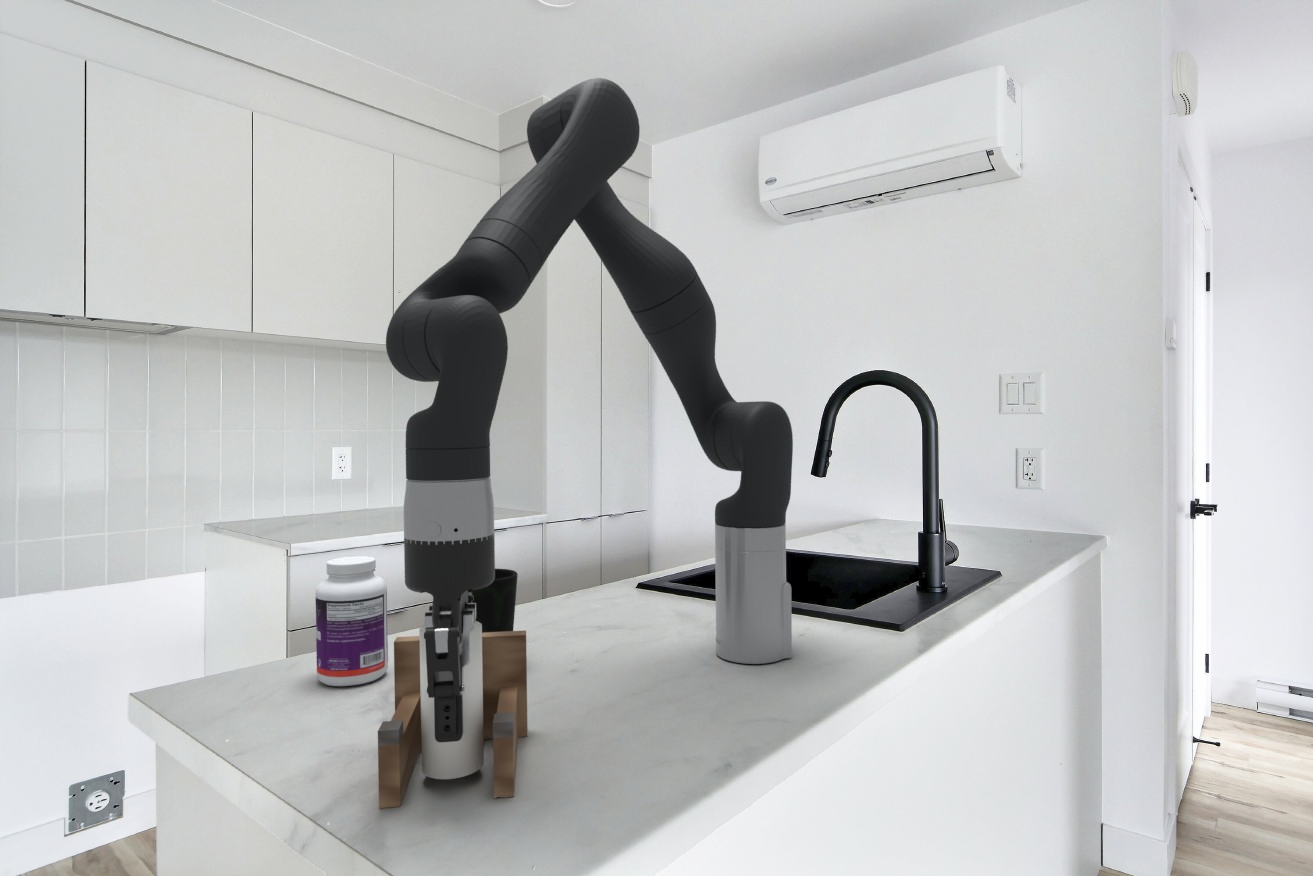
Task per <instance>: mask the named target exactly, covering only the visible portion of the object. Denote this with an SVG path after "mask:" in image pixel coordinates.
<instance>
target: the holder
mask: <svg viewBox="0 0 1313 876" xmlns="http://www.w3.org/2000/svg"><path fill="white" fill-rule="evenodd" d="M527 662H528V659H527V630H513V631H505V632H486V633H482V670H483V733H484V740H492V741H493V742H492V743H493V744H492V745H493V748H492V749H493V752H492V753H493V759H492V760H493V761H492V762H493V799H496V798H495V797H501V798H502V797H505V798H512V797H513V798H514V797H515V785H516V774H517V773H516V770H517V757H518V755H517V754H518V742H519V741H518V740H519V738H520V737H523V738H524V737H528V683H527V682H528V679H527V678H528V675H527V674H528V673H527V672H528V671H527V664H528V663H527ZM393 668H394V671H393V673H394V674H393V675H394V679H393V680H394V681H393V682H394V713H393V715H392V717H391V720H386V721H382V722H381V725H380V726H379V728H378V730H377V759H378V760H377V761H378V762H377V763H378V764H377V765H378V766H377V767H378V773H377V774H378V809H385V808H396V807H397V808H398V807H401V804H402V802H403V799H404V797H405V793H406V791H407V788H408V786H409V782H410V780H411V778H412V774H413V771H414V769H415V767H416V764H417V761H418V758H419V756H420V754H421V753H420V752H421V694H420V637H419V635H414V636H413V635H412V636H411V635H410V636H396V638H395V639H394V641H393ZM501 798H500V799H501ZM502 799H503V798H502Z"/></svg>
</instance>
